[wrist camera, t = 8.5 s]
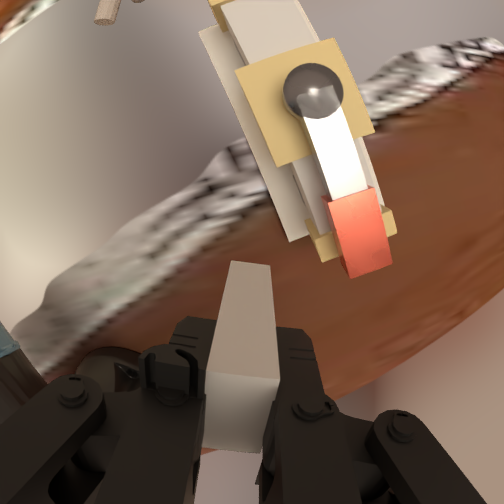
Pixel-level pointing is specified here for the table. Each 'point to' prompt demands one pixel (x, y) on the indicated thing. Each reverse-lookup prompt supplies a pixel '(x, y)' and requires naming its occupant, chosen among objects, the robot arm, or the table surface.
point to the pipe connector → (108, 11)
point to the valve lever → (338, 168)
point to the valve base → (274, 112)
